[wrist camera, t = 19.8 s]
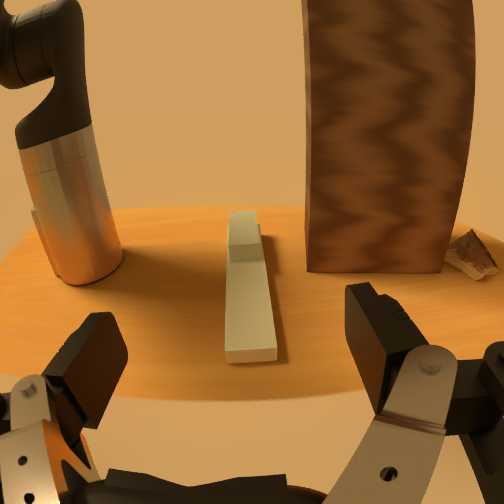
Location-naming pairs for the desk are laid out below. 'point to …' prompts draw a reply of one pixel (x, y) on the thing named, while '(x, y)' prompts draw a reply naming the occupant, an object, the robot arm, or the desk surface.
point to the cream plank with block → (247, 294)
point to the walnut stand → (385, 131)
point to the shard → (471, 256)
